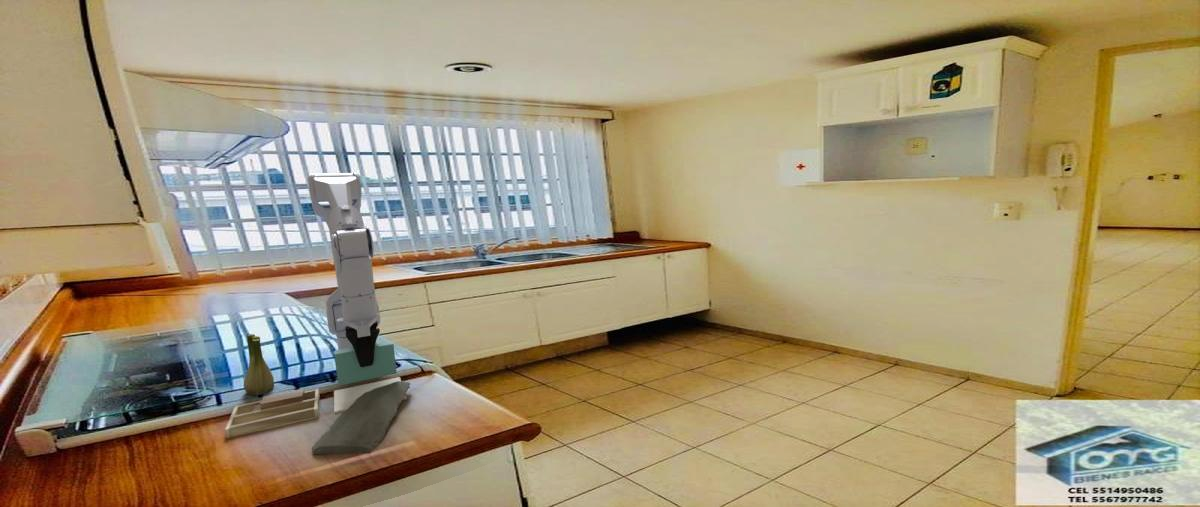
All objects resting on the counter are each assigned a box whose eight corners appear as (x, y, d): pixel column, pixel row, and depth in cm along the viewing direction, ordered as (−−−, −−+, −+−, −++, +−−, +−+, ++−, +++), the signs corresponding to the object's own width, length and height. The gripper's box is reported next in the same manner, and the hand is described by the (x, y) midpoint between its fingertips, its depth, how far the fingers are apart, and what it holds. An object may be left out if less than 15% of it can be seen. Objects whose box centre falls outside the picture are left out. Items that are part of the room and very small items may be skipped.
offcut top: (264, 403, 88) (263, 396, 88) (304, 395, 91) (304, 389, 91) (261, 410, 85) (260, 403, 85) (303, 401, 88) (302, 395, 88)
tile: (334, 394, 94) (334, 390, 94) (400, 380, 100) (399, 376, 100) (334, 415, 86) (334, 411, 86) (406, 399, 91) (406, 395, 91)
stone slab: (309, 465, 72) (376, 453, 73) (304, 449, 72) (372, 436, 73) (365, 395, 94) (416, 386, 95) (361, 382, 94) (413, 373, 94)
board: (338, 380, 91) (334, 350, 90) (395, 369, 96) (392, 340, 95) (338, 385, 89) (334, 354, 88) (396, 373, 94) (393, 343, 93)
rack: (237, 415, 87) (235, 405, 87) (319, 397, 93) (318, 388, 93) (226, 441, 78) (224, 429, 78) (318, 419, 85) (317, 408, 84)
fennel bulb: (270, 396, 95) (261, 338, 93) (240, 401, 93) (231, 341, 91) (278, 385, 100) (270, 329, 98) (250, 389, 98) (241, 332, 96)
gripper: (333, 289, 94) (341, 355, 96) (333, 305, 82) (343, 381, 84) (373, 284, 97) (380, 348, 100) (379, 299, 85) (387, 372, 87)
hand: (366, 363), depth 92 cm, fingers closed on board, 2 cm apart
